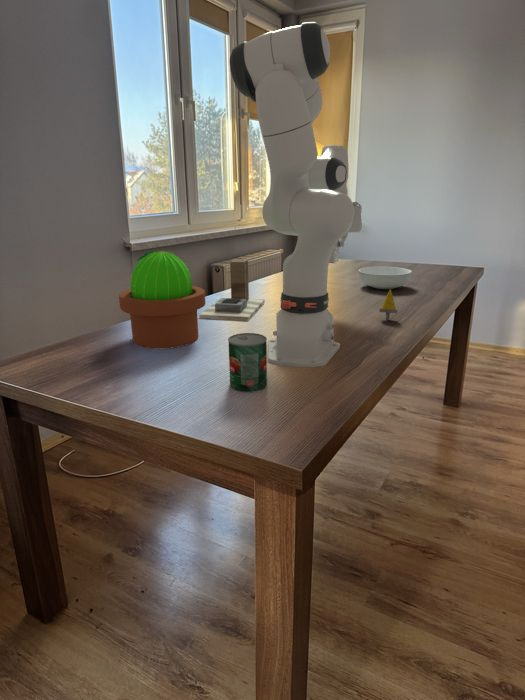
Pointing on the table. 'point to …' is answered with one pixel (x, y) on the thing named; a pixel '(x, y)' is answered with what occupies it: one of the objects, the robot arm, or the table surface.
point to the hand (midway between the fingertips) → (330, 247)
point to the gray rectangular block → (335, 254)
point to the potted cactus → (162, 302)
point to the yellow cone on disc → (388, 305)
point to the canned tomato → (248, 362)
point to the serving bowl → (384, 277)
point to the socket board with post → (235, 297)
